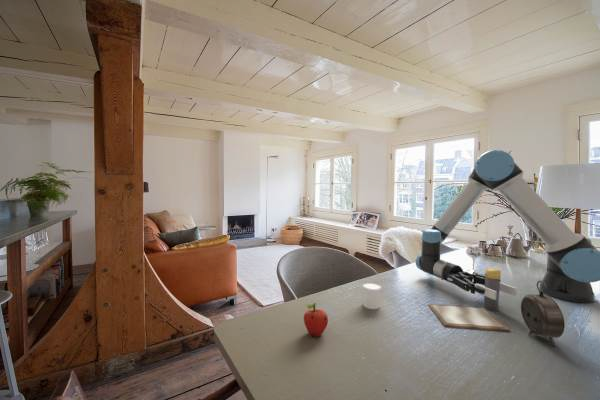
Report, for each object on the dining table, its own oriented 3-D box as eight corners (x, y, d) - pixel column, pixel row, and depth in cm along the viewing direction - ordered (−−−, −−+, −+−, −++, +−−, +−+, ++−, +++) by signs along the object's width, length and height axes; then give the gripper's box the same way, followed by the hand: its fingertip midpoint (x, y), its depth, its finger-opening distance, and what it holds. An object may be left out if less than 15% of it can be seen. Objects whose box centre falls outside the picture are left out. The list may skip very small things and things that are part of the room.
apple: (303, 327, 78) (304, 294, 77) (326, 327, 78) (327, 294, 77) (303, 342, 70) (303, 306, 70) (328, 343, 70) (329, 306, 70)
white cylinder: (382, 303, 94) (383, 284, 94) (379, 311, 88) (380, 291, 87) (363, 299, 97) (363, 281, 97) (359, 307, 91) (359, 287, 90)
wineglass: (484, 274, 126) (486, 249, 125) (470, 274, 126) (471, 249, 126) (475, 269, 133) (476, 246, 132) (462, 269, 133) (463, 246, 132)
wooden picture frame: (483, 309, 90) (483, 307, 90) (510, 331, 76) (510, 329, 76) (428, 305, 93) (428, 303, 93) (444, 326, 79) (444, 324, 79)
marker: (494, 306, 93) (495, 268, 92) (501, 311, 89) (503, 272, 88) (481, 305, 93) (483, 267, 92) (487, 310, 89) (489, 271, 88)
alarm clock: (564, 350, 68) (569, 289, 67) (540, 347, 69) (544, 287, 68) (536, 328, 78) (539, 274, 78) (515, 326, 80) (518, 273, 79)
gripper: (468, 278, 111) (528, 301, 89) (427, 283, 105) (481, 309, 83) (468, 260, 111) (529, 279, 89) (427, 265, 104) (482, 286, 83)
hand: (506, 293), depth 86 cm, fingers open, 9 cm apart
